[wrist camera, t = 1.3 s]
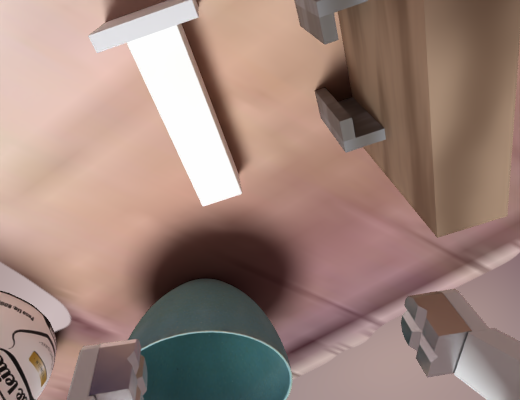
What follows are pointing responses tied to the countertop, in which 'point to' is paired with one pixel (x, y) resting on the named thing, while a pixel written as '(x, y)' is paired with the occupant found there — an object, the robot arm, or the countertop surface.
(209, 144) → the white t-shaped piece
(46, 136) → the countertop surface
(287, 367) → the teal bowl
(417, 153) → the brown wooden block
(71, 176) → the countertop surface
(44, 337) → the milk container
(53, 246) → the countertop surface
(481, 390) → the robot arm
